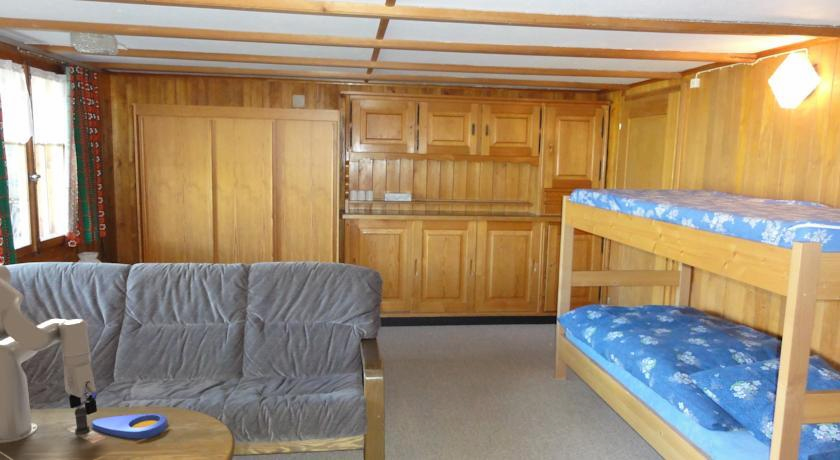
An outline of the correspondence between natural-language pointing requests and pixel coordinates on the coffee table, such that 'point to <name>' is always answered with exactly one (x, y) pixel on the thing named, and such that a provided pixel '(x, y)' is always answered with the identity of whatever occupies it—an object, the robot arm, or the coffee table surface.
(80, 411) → the pawn
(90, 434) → the board
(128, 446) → the coffee table surface
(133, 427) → the location marker
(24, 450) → the coffee table surface
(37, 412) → the coffee table surface
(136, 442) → the coffee table surface
